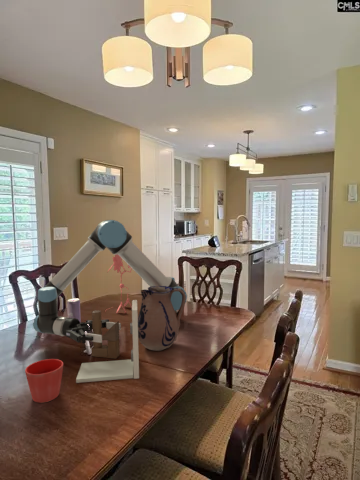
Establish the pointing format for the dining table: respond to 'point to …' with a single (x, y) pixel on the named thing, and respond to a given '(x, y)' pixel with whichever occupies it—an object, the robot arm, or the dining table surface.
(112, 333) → the wooden block
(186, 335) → the dining table surface
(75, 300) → the beverage can
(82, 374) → the white l-shaped bracket
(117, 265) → the figurine
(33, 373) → the flower pot
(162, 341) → the ceramic pitcher
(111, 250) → the robot arm
